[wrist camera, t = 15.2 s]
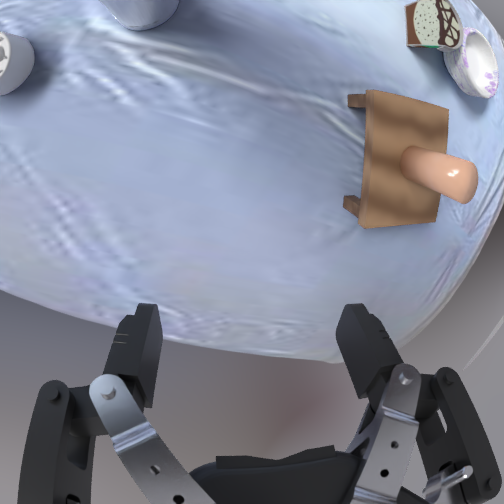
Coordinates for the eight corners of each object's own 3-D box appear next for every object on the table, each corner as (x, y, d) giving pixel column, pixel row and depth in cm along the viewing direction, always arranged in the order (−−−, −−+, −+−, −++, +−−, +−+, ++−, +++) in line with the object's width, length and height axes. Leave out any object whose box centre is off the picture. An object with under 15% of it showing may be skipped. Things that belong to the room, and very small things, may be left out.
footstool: (345, 91, 36) (373, 89, 29) (417, 105, 38) (448, 109, 31) (340, 209, 45) (364, 228, 38) (408, 206, 47) (435, 222, 41)
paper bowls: (472, 104, 39) (499, 109, 32) (432, 78, 36) (462, 79, 29) (474, 49, 32) (499, 50, 25) (433, 17, 29) (460, 13, 22)
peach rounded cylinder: (401, 143, 33) (458, 159, 23) (426, 147, 34) (480, 164, 24) (398, 179, 35) (451, 203, 26) (422, 181, 36) (474, 204, 26)
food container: (429, 63, 34) (467, 62, 25) (406, 52, 33) (445, 48, 24) (426, 12, 28) (461, 6, 20) (403, 0, 27) (438, -10, 18)
